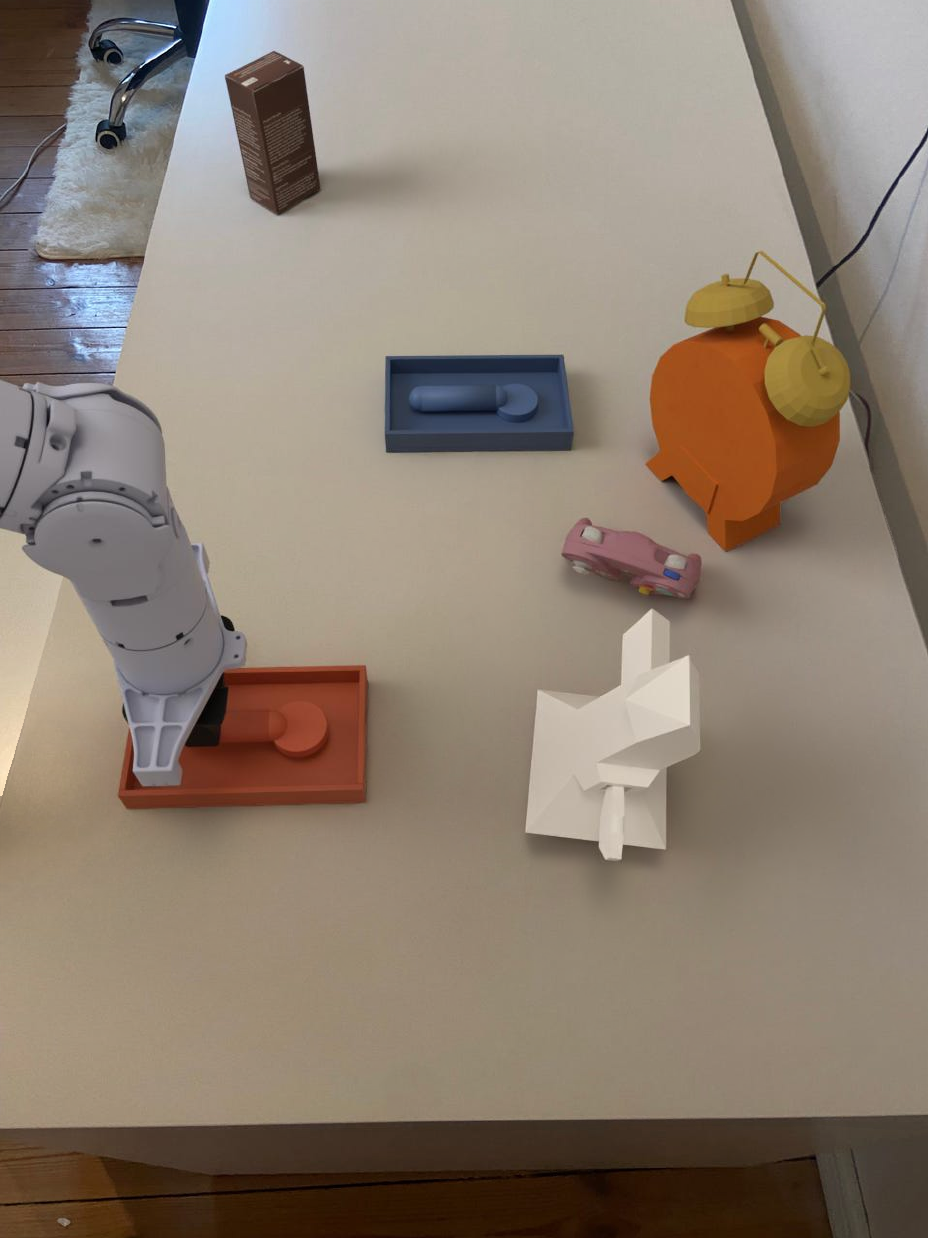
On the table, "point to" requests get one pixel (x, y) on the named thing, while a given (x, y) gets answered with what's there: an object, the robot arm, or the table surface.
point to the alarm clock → (746, 408)
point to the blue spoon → (478, 400)
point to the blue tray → (476, 427)
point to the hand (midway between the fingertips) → (204, 724)
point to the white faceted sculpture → (615, 747)
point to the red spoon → (279, 728)
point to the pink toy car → (631, 559)
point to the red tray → (272, 747)
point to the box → (274, 130)
